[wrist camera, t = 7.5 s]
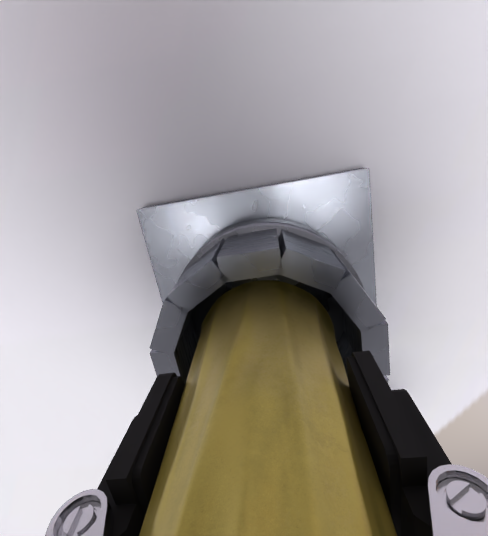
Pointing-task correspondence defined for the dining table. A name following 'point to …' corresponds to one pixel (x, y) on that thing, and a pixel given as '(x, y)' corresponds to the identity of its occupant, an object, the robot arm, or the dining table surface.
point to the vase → (267, 429)
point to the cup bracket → (267, 259)
